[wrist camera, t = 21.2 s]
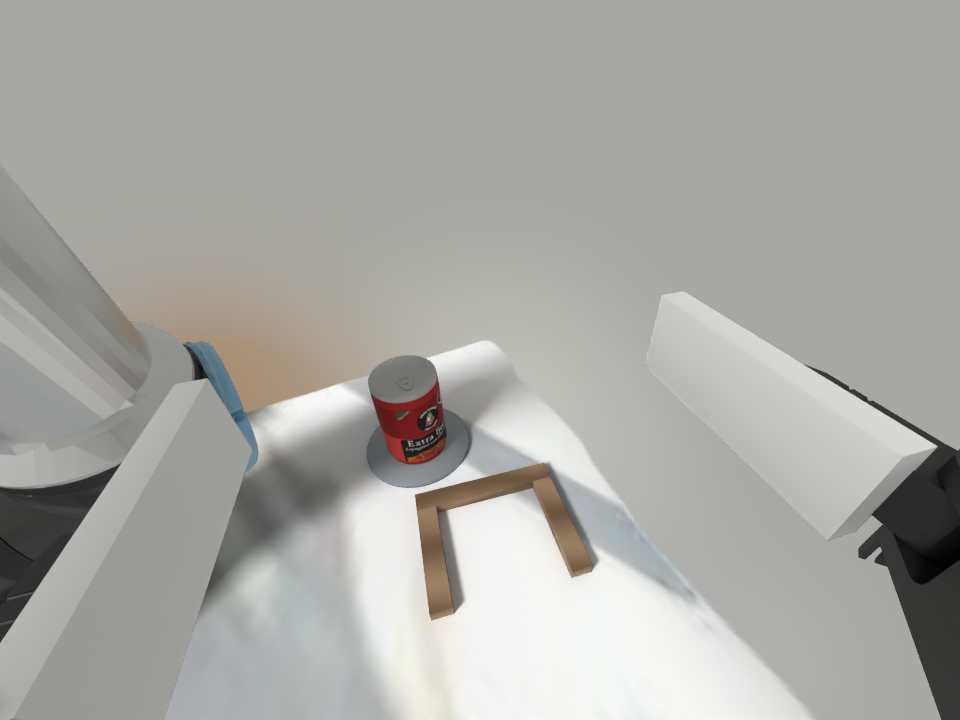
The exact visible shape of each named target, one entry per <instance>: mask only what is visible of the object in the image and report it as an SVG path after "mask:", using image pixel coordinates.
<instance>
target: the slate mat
mask: <svg viewBox="0 0 960 720" xmlns="http://www.w3.org/2000/svg"><path fill="white" fill-rule="evenodd" d="M443 414H444V420H445V426H446V432H447V438H446V442H445V445H444V448H443V450H442V451H441V452H440V454H439V455H438V456H436V457H435V458H434V459H432V460H430V461H428V462H425V463H422V464H416V465H411V464H405V463H402V462H400V461H398V460H397V459H396V458H394V457H393V455H392V454H391V453H390V452H389V450H388V447H387V444H386V441H385V438H384V435H383V432H382V428H381V425H380V426H379V427H378V428H377V430H376V431H375V432H374V434H373V435H372V437H371V439H370V441H369V444H368V449H367V458H368V462H369V465H370V467H371V469H372V471H373V472H374V474H375V475H376V476H377V477H378V478H380V479H381V480H382V481H384V482H386V483H388V484H390V485H393V486H398V487H405V488H414V487H421V486H426V485H430V484H432V483H435V482H437V481H439V480H441V479H443V478H445V477H446V476H448V475H449V474H451V473H452V472H453V471H454V470H455V469H456V468H457V467H458V466H459V465H460V464H461V462H462V461H463V459H464V457H465V456H466V453H467V450H468V446H469V437H468V431H467V428H466V426H465V424H464V423H463V421H462V420H461V419H460V418H459V417H458V416H457V415H455V414H454V413H452V412H450V411H448V410H445V409H443Z"/></svg>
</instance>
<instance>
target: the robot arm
mask: <svg viewBox="0 0 960 720" xmlns="http://www.w3.org/2000/svg"><path fill="white" fill-rule="evenodd" d="M645 366H646V367H647V368H648V369H649V370H650V371H651V372H652V373H653V374H654V375H655V376H656V377H657V378H658V379H659V380H660V381H661V382H662V383H663V384H664V385H665V386H666V387H667V388H668V389H669V390H670V391H671V392H673V393H674V394H675V395H676V396H677V397H678V398H679V399H680V400H681V401H682V402H683V403H684V404H685V405H686V406H687V407H688V408H689V409H690V410H691V411H692V412H693V413H694V414H695V415H696V416H697V417H698V418H700V419H701V420H702V421H703V422H704V423H705V424H706V425H707V426H708V427H709V428H710V429H711V430H712V431H713V432H714V433H715V434H716V435H717V436H718V437H719V438H720V439H721V440H722V441H723V442H724V443H726V444H727V445H728V446H729V447H730V448H731V449H732V450H733V451H734V452H735V453H736V454H737V455H738V456H739V457H740V458H741V459H742V460H743V461H744V462H745V463H746V464H747V465H748V466H749V467H750V468H751V469H753V470H754V471H755V472H756V473H757V474H758V475H759V476H760V477H761V478H762V479H763V480H764V481H765V482H766V483H767V484H768V485H769V486H770V487H771V488H772V489H773V490H774V491H775V492H776V493H777V494H778V495H780V496H781V497H782V498H783V499H784V500H785V501H786V502H787V503H788V504H789V505H790V506H791V507H792V508H793V509H794V510H795V511H796V512H797V513H798V514H799V515H800V516H801V517H802V518H803V519H805V521H807V522H808V523H809V524H810V525H811V526H812V527H813V528H814V529H815V530H816V531H817V532H818V533H819V534H820V535H821V536H822V537H823V538H824V539H825V540H826V541H828V540H831V539H834V538H837V537H841V536H844V535H846V534H850V533H853V532H856V531H857V530H858V529H859V528H860V527H861V526H862V524H863V523H864V522H865V521H866V520H867V519H868V518H869V517H870V516H871V515H873V516H874V517H875V518H876V519H877V520H879V521H880V522H881V523H882V524H883V525H882V526H881V527H880V528H879V529H878V530H877V531H875V533H874V534H872V535H871V536H870V537H869V538H868V539H867V540H866V541H865V542H864V543H863V544H862V545H861V546H860V547H859V551H858V553H859V558H862V559H866V558H867V557H868V556H869V555H871V554H872V553H873V552H874V551H875V550H876V549H877V548H878V547H881V549H882V552H881V553H880V554H879V555H878V556H877V557H876V559H875V563H877V564H881V565H884V566H887V567H888V569H889V572H890V575H891V578H892V581H893V584H894V586H895V589H896V592H897V595H898V598H899V601H900V603H901V606H902V609H903V612H904V615H905V618H906V620H907V623H908V626H909V629H910V632H911V635H912V638H913V640H914V643H915V646H916V649H917V652H918V654H919V657H920V660H921V663H922V666H923V669H924V672H925V674H926V677H927V680H928V683H929V686H930V688H931V691H932V694H933V697H934V700H935V703H936V705H937V709H938V711H939V714H940V717H941V720H960V450H959V451H957V450H955V449H954V448H952V447H950V446H948V445H946V444H944V443H943V442H941V441H939V440H938V439H936V438H934V437H933V436H931V435H929V434H928V433H926V432H924V431H922V430H921V429H919V428H917V427H916V426H914V425H912V424H911V423H909V422H907V421H906V420H904V419H902V418H901V417H899V416H897V415H896V414H894V413H892V412H891V411H889V410H887V409H885V408H884V407H882V406H881V405H879V404H877V403H876V402H874V401H868V399H867V397H866V396H864V395H862V394H861V393H859V392H857V391H856V390H854V389H853V390H850V389H849V386H847V385H845V384H844V383H842V382H840V381H839V380H837V379H835V378H834V377H832V376H830V375H829V374H827V373H825V372H822V371H820V370H817V369H814V368H812V367H809V366H807V365H804V364H802V363H800V362H798V361H797V360H795V359H793V358H792V357H790V356H789V355H787V354H785V353H784V352H782V351H780V350H779V349H777V348H775V347H774V346H772V345H770V344H769V343H767V342H766V341H764V340H762V339H761V338H759V337H757V336H756V335H754V334H752V333H751V332H749V331H747V330H746V329H744V328H743V327H741V326H739V325H738V324H736V323H734V322H733V321H731V320H729V319H728V318H726V317H725V316H722V315H721V314H719V313H718V312H716V311H715V310H713V309H711V308H710V307H708V306H707V305H705V304H703V303H702V302H700V301H698V300H697V299H695V298H693V297H692V296H690V295H688V294H687V293H685V292H677V293H672V294H666V295H662V297H661V301H660V305H659V309H658V313H657V317H656V321H655V326H654V329H653V334H652V338H651V342H650V346H649V350H648V354H647V359H646V362H645ZM257 458H258V445H257V442H256V438H255V435H254V432H253V430H252V427H251V425H250V422H249V420H248V417H247V415H246V414H245V412H244V411H243V406H242V404H241V402H240V398H239V396H238V393H237V391H236V389H235V387H234V385H233V382H232V380H231V378H230V376H229V374H228V372H227V370H226V368H225V366H224V364H223V362H222V360H221V359H220V357H219V355H218V353H217V352H216V350H215V349H214V348H213V346H212V345H210V344H209V343H206V342H196V343H191V342H186V343H184V344H182V343H181V342H180V341H179V340H178V339H176V338H175V337H174V336H173V335H172V334H170V333H168V332H167V331H165V330H163V329H161V328H158V327H155V326H152V325H148V324H145V323H140V322H135V321H129V319H128V318H127V317H126V316H125V315H124V313H123V312H122V311H121V310H120V309H119V307H118V306H117V305H116V304H115V302H114V301H113V300H112V299H111V298H110V296H109V295H108V294H107V293H106V292H105V290H104V289H103V288H102V287H101V285H100V284H99V283H98V282H97V281H96V279H95V278H94V277H93V276H92V275H91V273H90V272H89V271H88V270H87V268H86V267H85V266H84V265H83V264H82V262H81V261H80V260H79V259H78V258H77V256H76V255H75V254H74V253H73V251H72V250H71V249H70V248H69V247H68V245H67V244H66V243H65V242H64V241H63V239H62V238H61V237H60V236H59V234H58V233H57V232H56V231H55V230H54V228H53V227H52V226H51V225H50V224H49V222H48V221H47V220H46V219H45V217H44V216H43V215H42V214H41V213H40V212H39V210H38V209H37V208H36V207H35V205H34V204H33V203H32V202H31V201H30V199H29V198H28V197H27V196H26V195H25V193H24V192H23V191H22V190H21V188H20V187H19V186H18V185H17V184H16V182H15V181H14V180H13V179H12V177H11V176H10V175H9V174H8V173H7V171H6V170H5V169H4V168H3V166H2V165H1V164H0V720H164V718H165V715H166V712H167V709H168V706H169V703H170V700H171V697H172V694H173V690H174V687H175V684H176V681H177V678H178V675H179V672H180V669H181V666H182V663H183V660H184V657H185V654H186V651H187V648H188V645H189V642H190V639H191V636H192V632H193V629H194V626H195V623H196V620H197V617H198V614H199V611H200V608H201V605H202V602H203V599H204V596H205V593H206V590H207V587H208V584H209V581H210V578H211V574H212V571H213V568H214V565H215V562H216V559H217V556H218V553H219V550H220V547H221V544H222V541H223V538H224V535H225V532H226V529H227V526H228V523H229V520H230V516H231V513H232V510H233V507H234V504H235V501H236V498H237V495H238V492H239V489H240V486H241V483H242V480H243V477H244V474H245V472H247V471H248V470H250V469H251V468H252V467H253V466H254V464H255V463H256V461H257Z"/></svg>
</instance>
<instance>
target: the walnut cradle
mask: <svg viewBox="0 0 960 720" xmlns="http://www.w3.org/2000/svg"><path fill="white" fill-rule="evenodd" d="M530 488H533V489H534V491H535V493H536V496H537V498H538V500H539V503H540V505H541V507H542V510H543V512H544V514H545V517H546V519H547V521H548V524H549V526H550V528H551V531H552V533H553V536H554V538H555V540H556V543H557V545H558V547H559V550H560V552H561V554H562V557H563V559H564V561H565V564H566V566H567V568H568V571H569V573H570V575H571V578H572V577H576V576H579V575H582V574H586V573H589V572H592V568H593V564H592V562H591V560H590V558H589V556H588V554H587V552H586V550H585V548H584V546H583V544H582V542H581V539H580V537H579V535H578V533H577V531H576V529H575V527H574V525H573V523H572V521H571V519H570V517H569V515H568V513H567V510H566V508H565V506H564V504H563V502H562V500H561V498H560V496H559V494H558V492H557V490H556V488H555V486H554V484H553V482H552V479H551V477H550V475H549V473H548V471H547V469H546V467H545V465H544V463H541V464H537V465H533V466H529V467H525V468H521V469H517V470H513V471H509V472H505V473H501V474H497V475H493V476H489V477H485V478H481V479H477V480H473V481H469V482H465V483H461V484H457V485H453V486H449V487H445V488H441V489H437V490H433V491H429V492H425V493H421V494H417V495H415V498H416V506H417V515H418V523H419V531H420V539H421V548H422V556H423V564H424V573H425V581H426V589H427V597H428V606H429V614H430V617H431V620H434V619H438V618H441V617H444V616H447V615H451V614H454V609H453V603H452V597H451V591H450V585H449V579H448V574H447V568H446V562H445V556H444V550H443V544H442V538H441V532H440V526H439V520H438V514H437V512H441V511H445V510H449V509H453V508H456V507H460V506H464V505H468V504H472V503H476V502H480V501H483V500H487V499H491V498H495V497H499V496H503V495H507V494H511V493H514V492H518V491H522V490H526V489H530Z"/></svg>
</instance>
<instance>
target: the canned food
mask: <svg viewBox="0 0 960 720" xmlns="http://www.w3.org/2000/svg"><path fill="white" fill-rule="evenodd" d="M368 384H369V389H370V393H371V397H372V400H373V403H374V406H375V409H376V413H377V416H378V419H379V422H380V425H381V428H382V432H383V435H384V438H385V441H386V444H387V447H388V450H389V452H390V453H391V454H392V455H393V457H394V458H396V459H397V460H398V461H400V462H402V463H405V464H411V465H416V464H422V463H425V462H428V461H430V460H432V459H434V458H435V457H436V456H438V455H439V454H440V452H441V451H442V450H443V448H444V445H445V442H446V438H447V432H446V426H445V420H444V414H443V407H442V401H441V395H440V388H439V382H438V377H437V372H436V369H435V367H434V365H433V364H432V363H431V362H430V361H429V360H427V359H425V358H422V357H419V356H410V355H409V356H399V357H395V358H392V359H389V360H386V361H384V362H383V363H381V364H379V365H378V366H377V367H376V368H375V369H374V370H373V371H372V372H371V374H370V376H369V379H368Z"/></svg>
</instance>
